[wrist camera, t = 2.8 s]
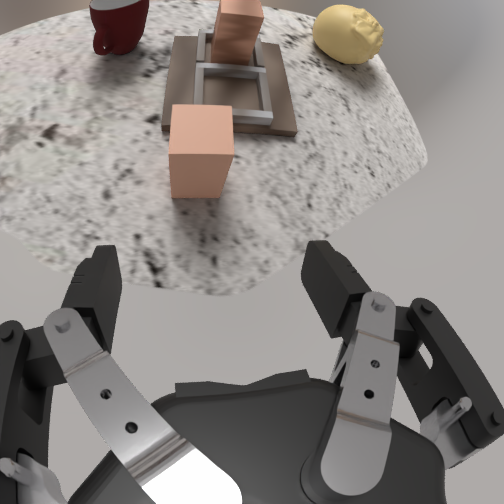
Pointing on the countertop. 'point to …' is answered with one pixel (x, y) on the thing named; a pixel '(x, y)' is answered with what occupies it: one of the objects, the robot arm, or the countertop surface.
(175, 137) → the pillar
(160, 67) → the countertop surface
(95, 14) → the mug
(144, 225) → the countertop surface
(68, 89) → the countertop surface
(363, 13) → the sculpture
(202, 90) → the wooden block stand
